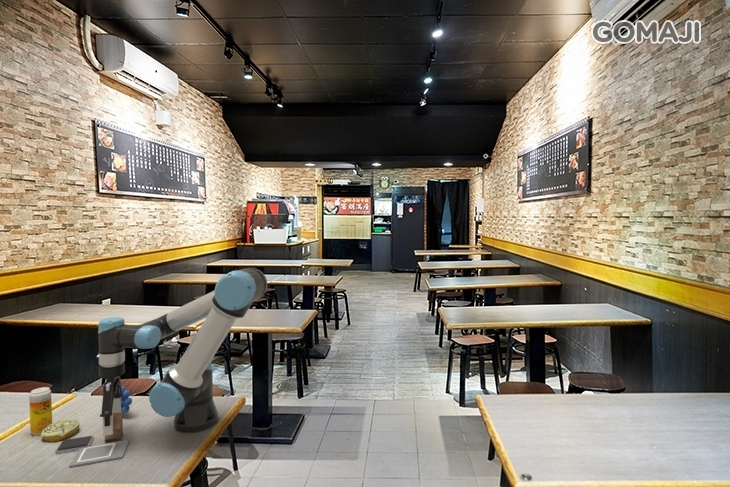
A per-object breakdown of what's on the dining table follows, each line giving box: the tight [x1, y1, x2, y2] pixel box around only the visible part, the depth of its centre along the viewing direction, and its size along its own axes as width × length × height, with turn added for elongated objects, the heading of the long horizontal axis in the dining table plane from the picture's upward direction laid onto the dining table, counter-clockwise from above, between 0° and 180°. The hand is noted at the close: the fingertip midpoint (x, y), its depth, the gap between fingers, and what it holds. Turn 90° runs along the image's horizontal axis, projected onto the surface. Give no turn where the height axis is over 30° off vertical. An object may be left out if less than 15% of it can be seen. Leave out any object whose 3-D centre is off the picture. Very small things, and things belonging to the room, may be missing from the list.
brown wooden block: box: [104, 412, 124, 444], centre depth 142 cm, size 4×4×8 cm
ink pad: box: [54, 435, 95, 455], centre depth 137 cm, size 9×7×1 cm
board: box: [68, 439, 130, 468], centre depth 132 cm, size 14×11×1 cm
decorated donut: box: [40, 419, 80, 443], centre depth 145 cm, size 10×11×4 cm
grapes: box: [119, 385, 133, 416], centre depth 159 cm, size 12×7×12 cm, turn 75°
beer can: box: [28, 386, 53, 436], centre depth 147 cm, size 6×6×15 cm
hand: (112, 425), depth 142 cm, fingers open, 13 cm apart
